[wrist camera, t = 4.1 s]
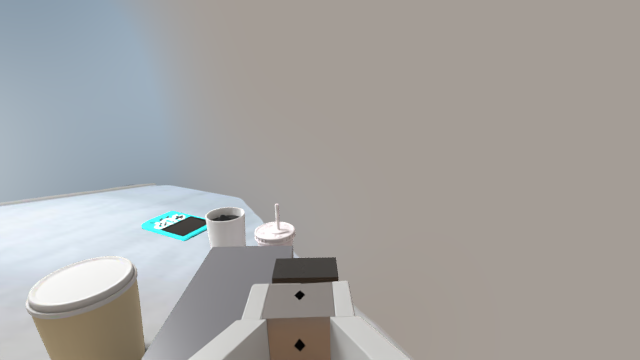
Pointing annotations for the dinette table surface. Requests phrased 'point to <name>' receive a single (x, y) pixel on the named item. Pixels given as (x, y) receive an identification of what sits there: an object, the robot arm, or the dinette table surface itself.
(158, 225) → the handheld game console
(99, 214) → the dinette table surface
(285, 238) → the smoothie
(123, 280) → the coffee cup
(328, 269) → the side door
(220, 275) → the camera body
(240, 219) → the white cylindrical cup
